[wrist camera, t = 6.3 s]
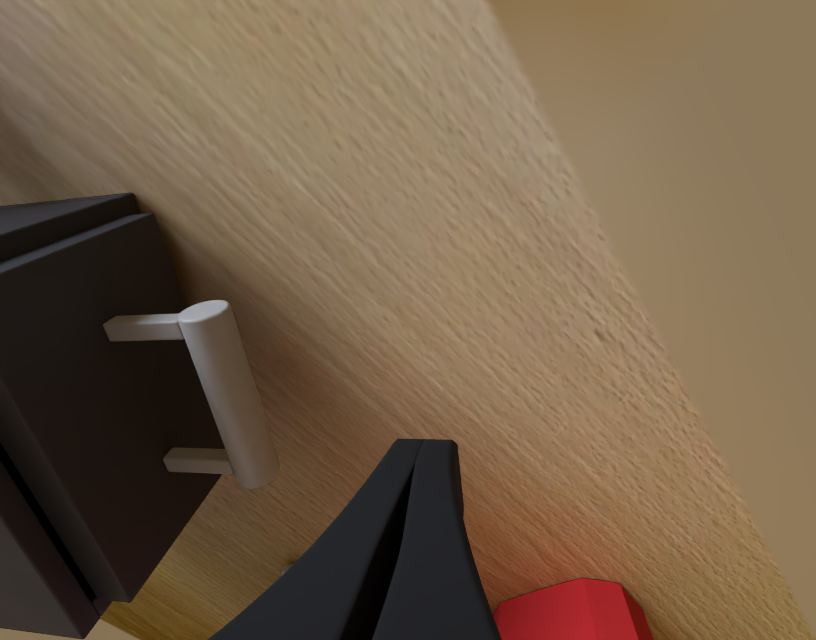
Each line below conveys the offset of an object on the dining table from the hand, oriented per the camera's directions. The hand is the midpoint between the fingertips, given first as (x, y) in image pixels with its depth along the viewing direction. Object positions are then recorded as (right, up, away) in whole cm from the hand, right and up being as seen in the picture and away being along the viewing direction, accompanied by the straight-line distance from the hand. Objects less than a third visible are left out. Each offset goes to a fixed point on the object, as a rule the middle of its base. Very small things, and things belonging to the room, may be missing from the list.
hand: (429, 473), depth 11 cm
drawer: (-11, +2, +8) cm, 14 cm away
